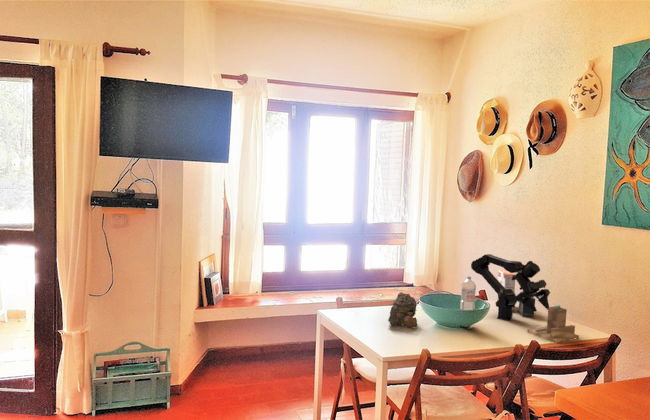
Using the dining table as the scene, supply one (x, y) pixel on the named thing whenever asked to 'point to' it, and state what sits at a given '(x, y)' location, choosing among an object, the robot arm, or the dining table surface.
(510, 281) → the cracker box
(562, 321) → the wooden block
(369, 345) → the dining table surface
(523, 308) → the small box
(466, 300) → the water bottle
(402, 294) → the rock
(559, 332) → the cleat board
